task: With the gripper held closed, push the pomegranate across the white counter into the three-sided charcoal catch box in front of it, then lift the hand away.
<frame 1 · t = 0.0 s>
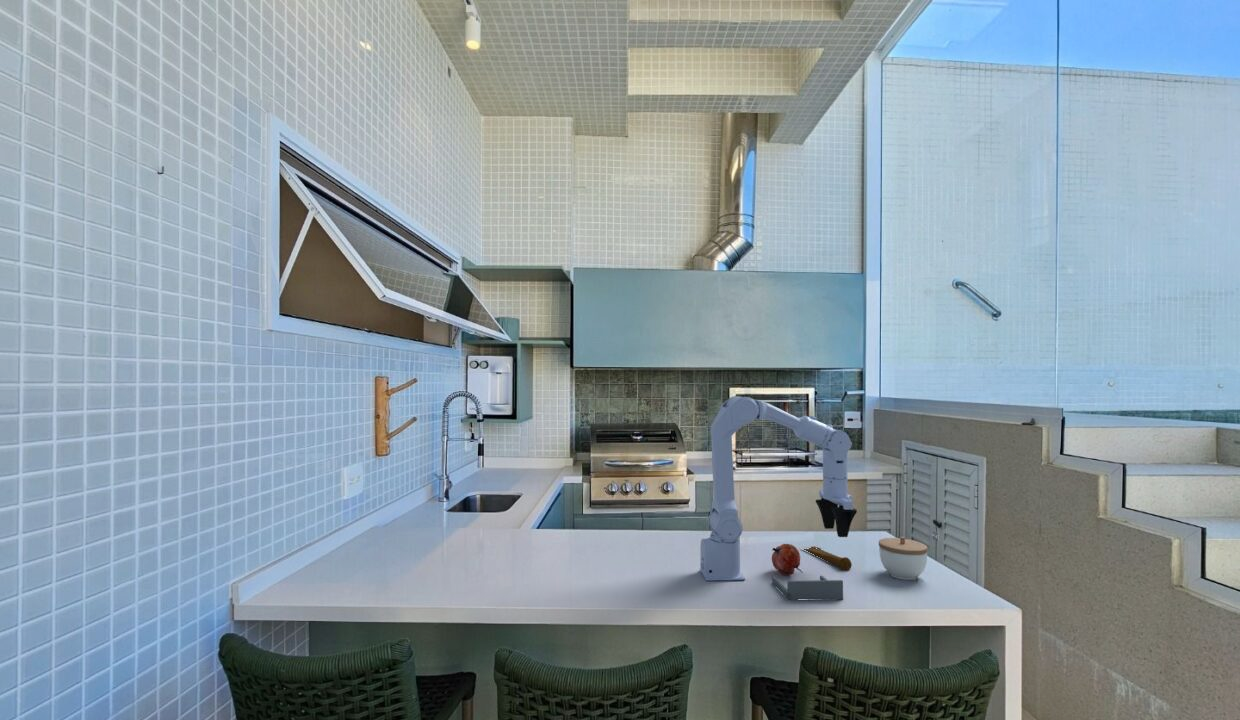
hand: (835, 532, 137), 10 cm above the countertop, tool pointing down, fingers open, 7 cm apart
pomegranate: (787, 573, 137), on the countertop
lidded jar: (903, 576, 136), on the countertop
catch box: (805, 590, 125), on the countertop
primitive tool: (823, 560, 149), on the countertop
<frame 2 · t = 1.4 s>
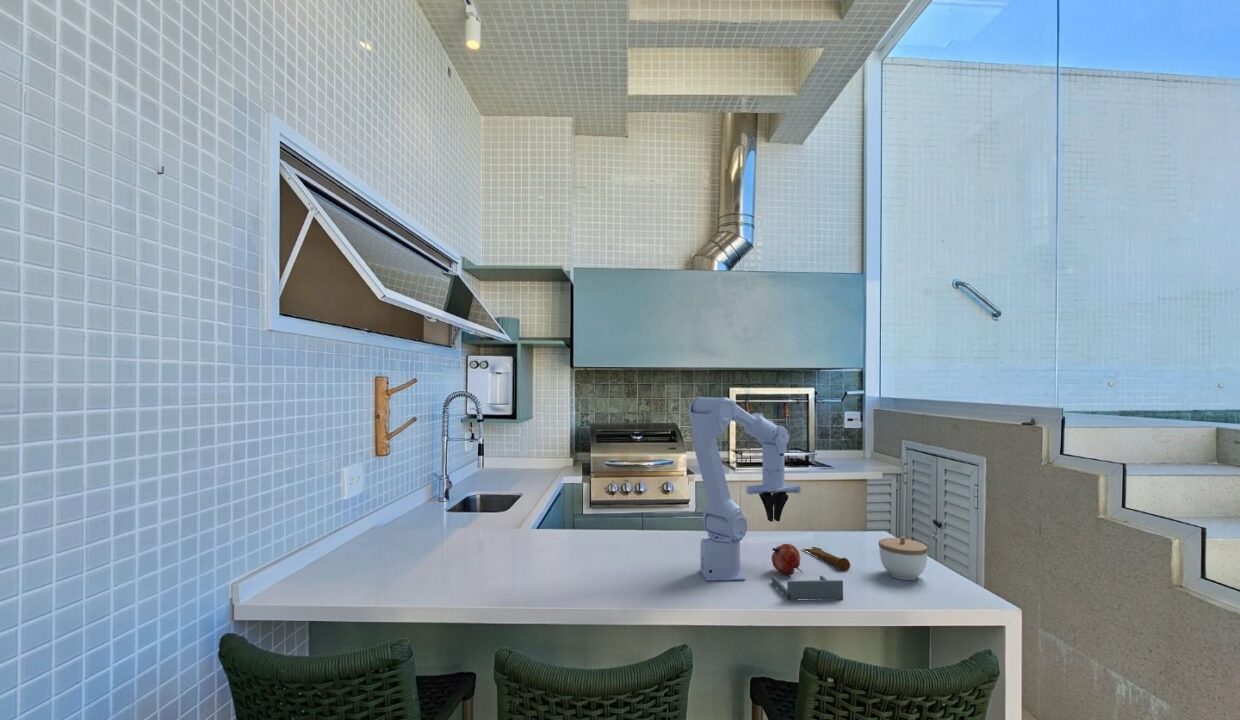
hand: (773, 520, 147), 10 cm above the countertop, tool pointing down, fingers closed
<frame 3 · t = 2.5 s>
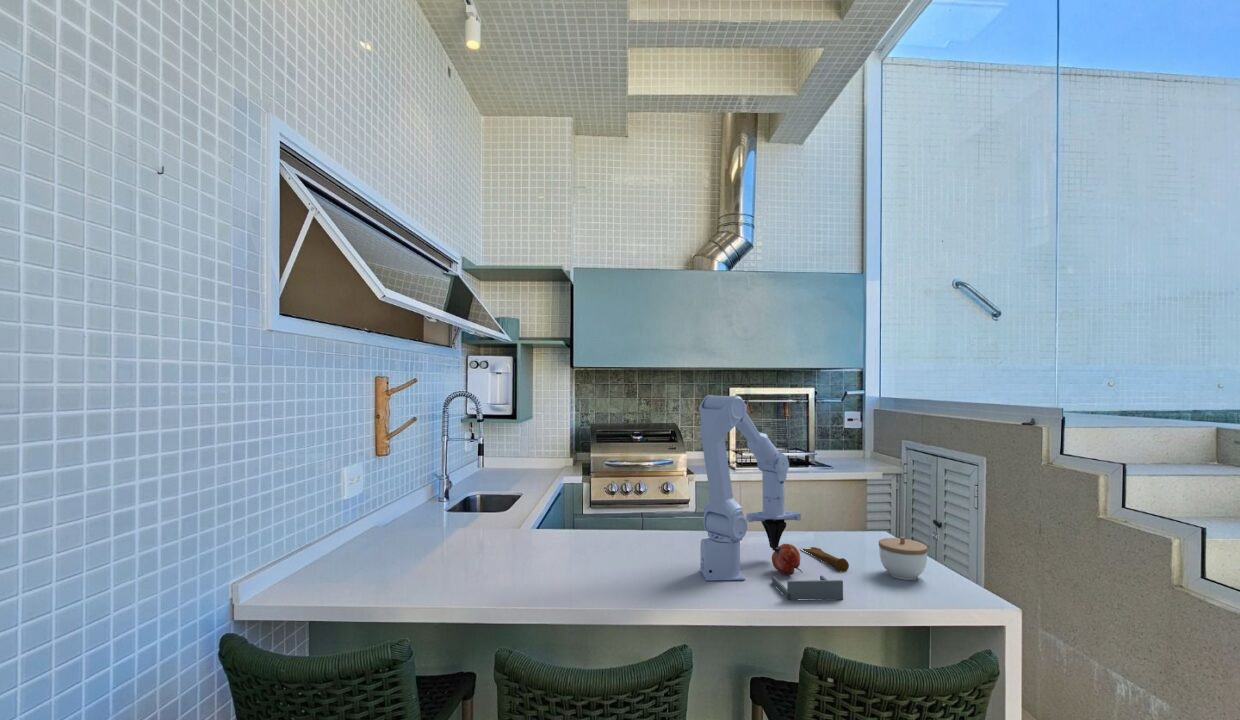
hand: (773, 548, 147), 3 cm above the countertop, tool pointing down, fingers closed
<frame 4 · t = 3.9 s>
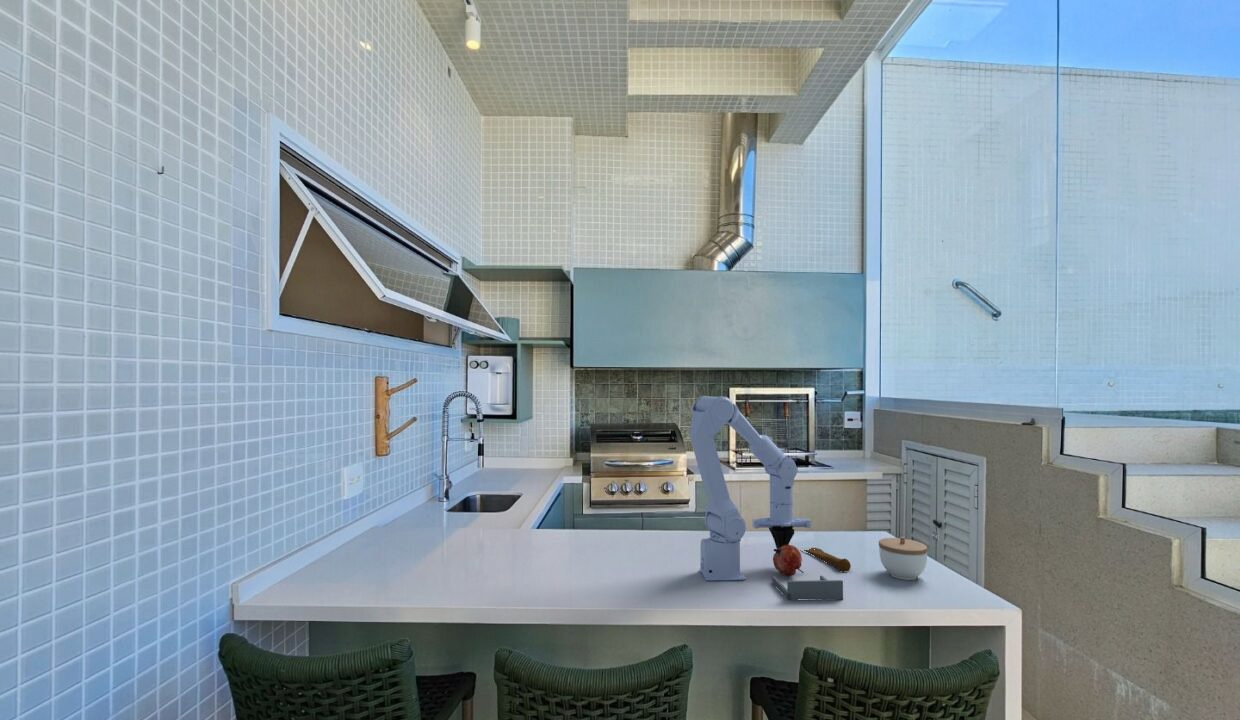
hand: (781, 555, 141), 3 cm above the countertop, tool pointing down, fingers closed, pressing on pomegranate
pomegranate: (788, 575, 136), on the countertop, touching gripper
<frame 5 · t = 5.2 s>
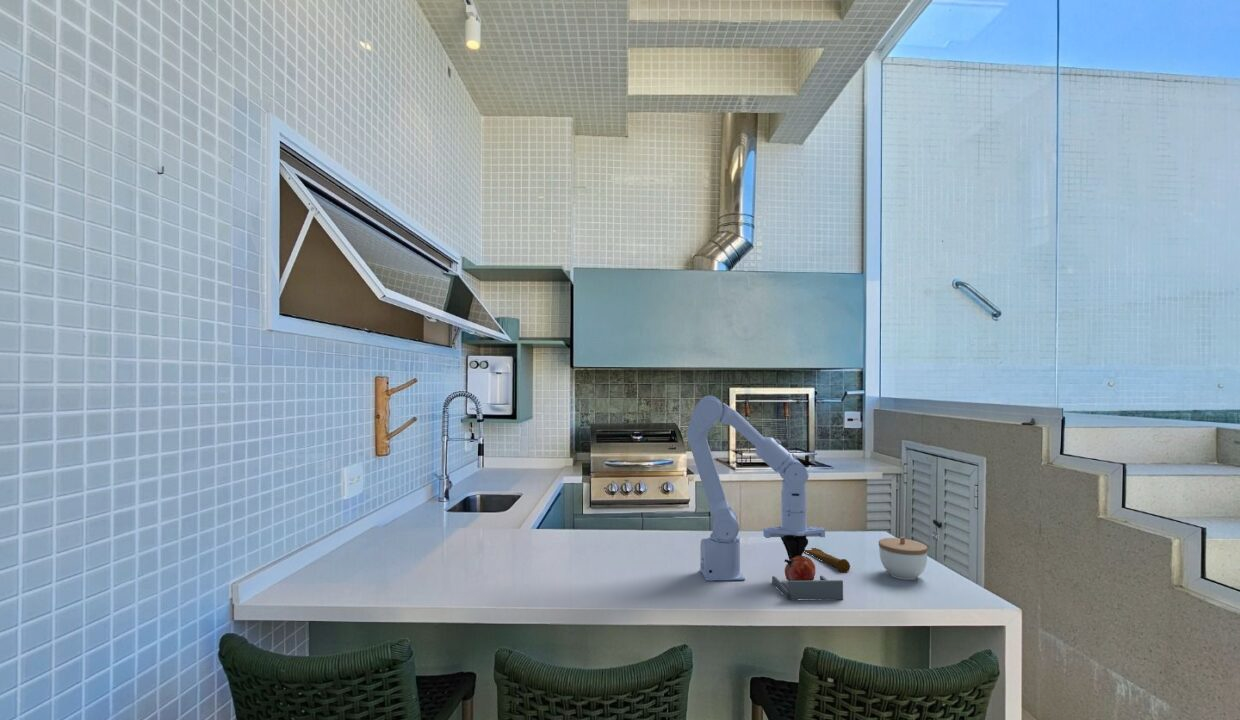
hand: (794, 567, 132), 3 cm above the countertop, tool pointing down, fingers closed, pressing on pomegranate
pomegranate: (801, 588, 127), on the countertop, touching gripper
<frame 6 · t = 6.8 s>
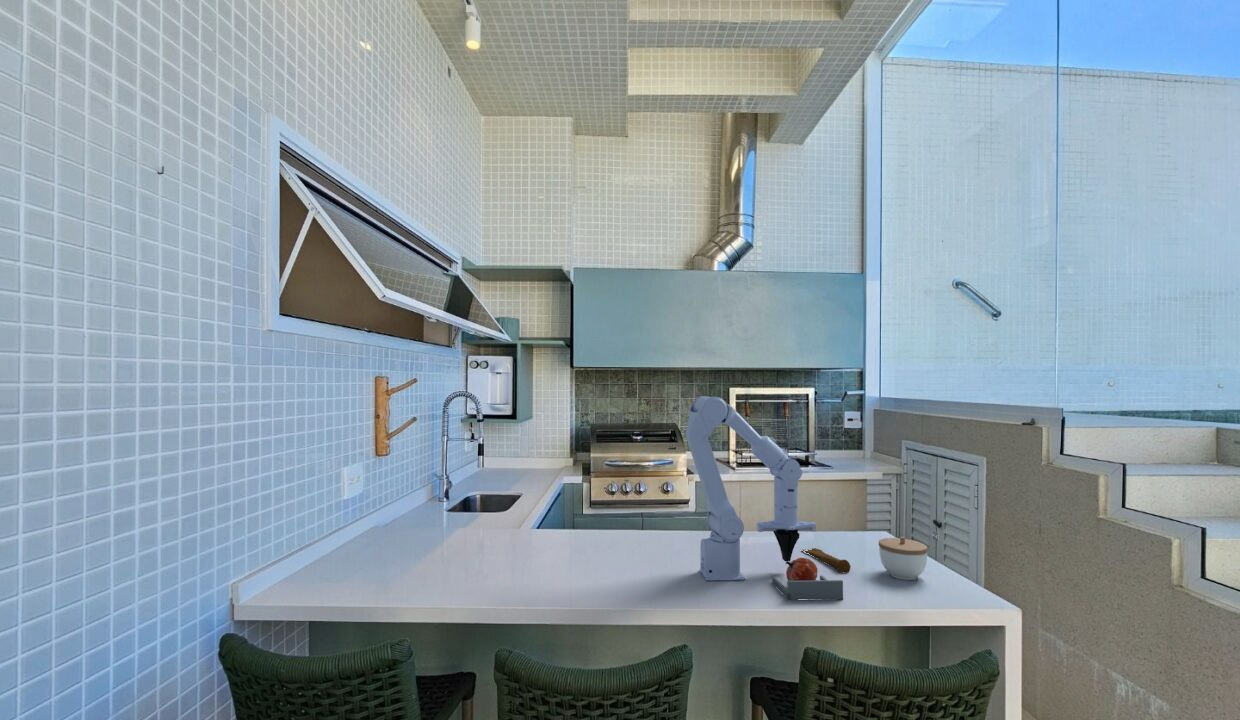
hand: (786, 560, 138), 3 cm above the countertop, tool pointing down, fingers closed
pomegranate: (803, 590, 126), on the countertop
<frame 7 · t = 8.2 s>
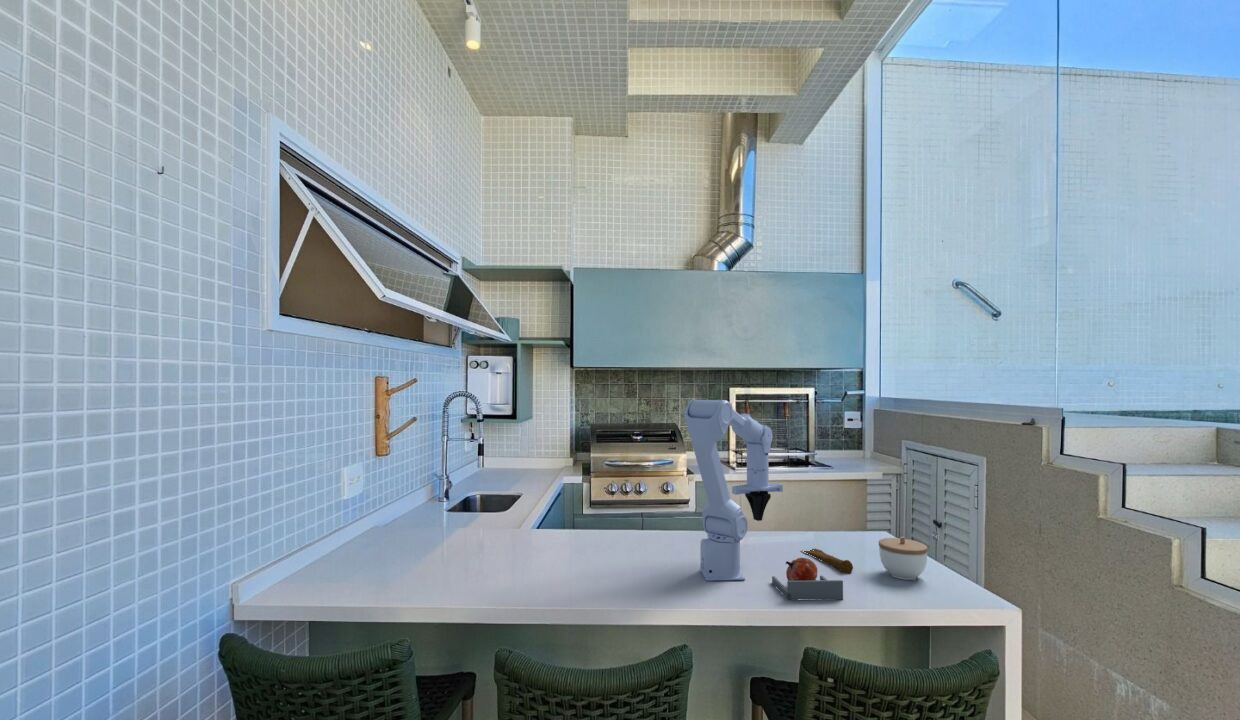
hand: (757, 519, 148), 10 cm above the countertop, tool pointing down, fingers closed
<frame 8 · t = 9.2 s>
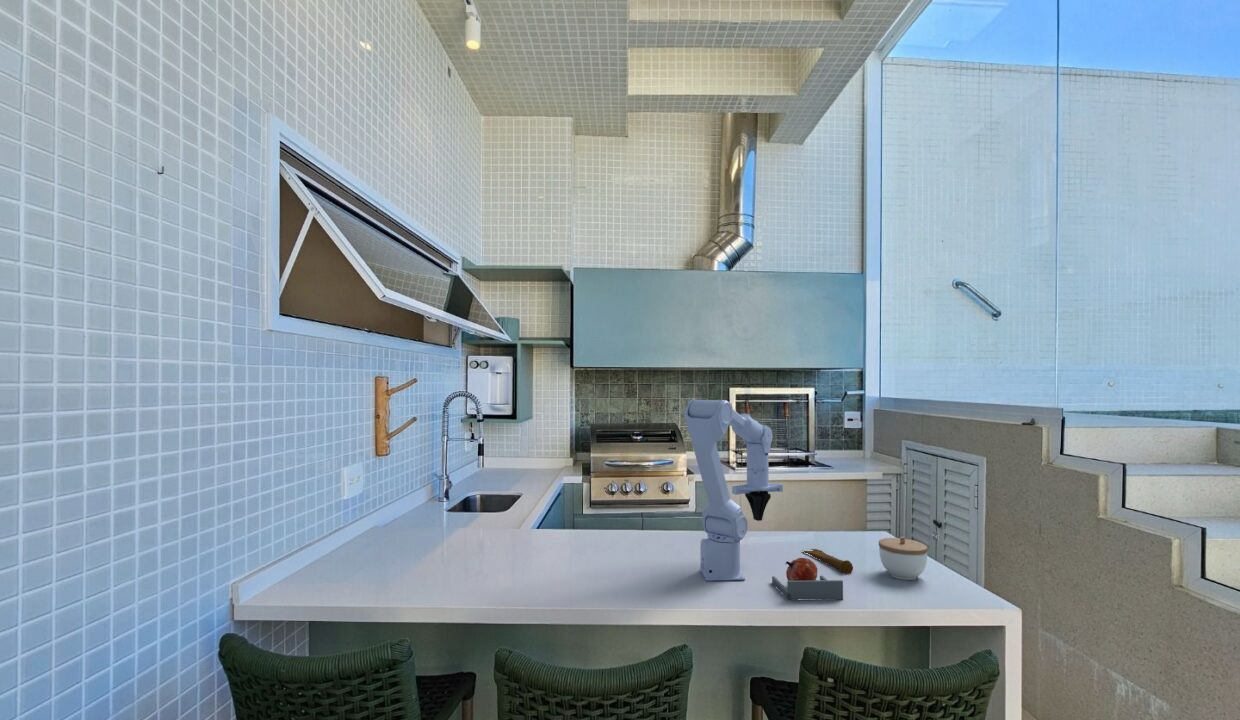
hand: (757, 519, 148), 10 cm above the countertop, tool pointing down, fingers closed
at the end: pomegranate inside the target area on the catch box (1.3 cm from its centre), point 0.0 cm above the catch box's base; pomegranate moved 11.0 cm from its start; the gripper is holding nothing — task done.
